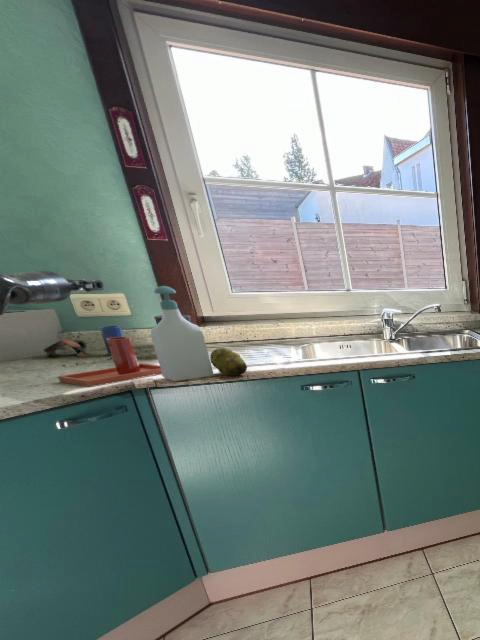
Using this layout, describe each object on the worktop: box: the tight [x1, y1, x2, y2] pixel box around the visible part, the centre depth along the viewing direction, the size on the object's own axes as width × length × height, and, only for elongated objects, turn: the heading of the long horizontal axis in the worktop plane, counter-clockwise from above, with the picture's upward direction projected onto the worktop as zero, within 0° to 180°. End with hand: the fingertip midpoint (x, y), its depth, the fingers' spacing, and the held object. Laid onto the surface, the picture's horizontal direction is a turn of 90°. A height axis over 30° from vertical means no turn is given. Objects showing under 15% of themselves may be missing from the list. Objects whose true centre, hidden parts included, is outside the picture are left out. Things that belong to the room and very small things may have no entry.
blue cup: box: [99, 325, 125, 360], centre depth 175 cm, size 5×6×11 cm
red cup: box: [106, 336, 141, 375], centre depth 153 cm, size 5×6×11 cm
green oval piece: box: [209, 347, 248, 377], centre depth 159 cm, size 8×13×8 cm, turn 43°
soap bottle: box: [150, 285, 214, 382], centre depth 151 cm, size 11×8×27 cm
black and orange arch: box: [43, 337, 88, 358], centre depth 172 cm, size 12×10×8 cm
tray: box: [57, 362, 162, 387], centre depth 152 cm, size 22×14×2 cm, turn 162°
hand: (81, 283), depth 138 cm, fingers open, 8 cm apart
